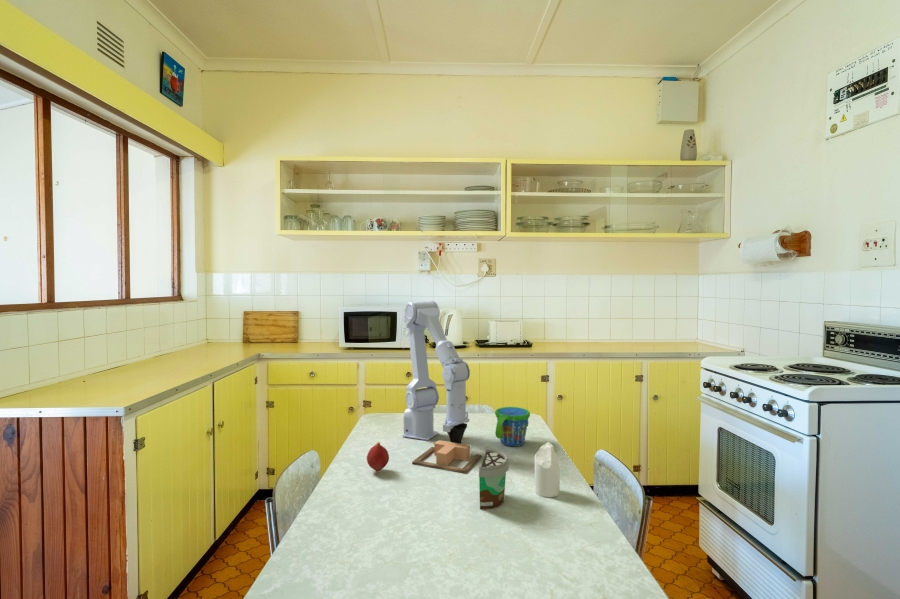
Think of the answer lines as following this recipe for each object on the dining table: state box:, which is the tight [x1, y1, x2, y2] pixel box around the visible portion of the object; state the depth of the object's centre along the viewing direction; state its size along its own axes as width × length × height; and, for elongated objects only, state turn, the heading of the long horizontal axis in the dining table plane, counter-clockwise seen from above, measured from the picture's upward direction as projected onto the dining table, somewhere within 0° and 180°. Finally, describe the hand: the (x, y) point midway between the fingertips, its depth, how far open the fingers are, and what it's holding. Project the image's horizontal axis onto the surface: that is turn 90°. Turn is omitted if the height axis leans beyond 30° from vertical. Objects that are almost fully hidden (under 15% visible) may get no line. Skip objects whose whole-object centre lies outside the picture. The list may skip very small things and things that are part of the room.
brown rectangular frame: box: [411, 446, 483, 475], centre depth 132 cm, size 16×12×1 cm
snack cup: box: [494, 406, 531, 447], centre depth 145 cm, size 16×10×10 cm
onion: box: [366, 441, 390, 473], centre depth 124 cm, size 6×6×8 cm
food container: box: [478, 448, 510, 510], centre depth 108 cm, size 12×6×10 cm, turn 168°
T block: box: [433, 439, 471, 466], centre depth 132 cm, size 9×10×4 cm
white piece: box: [534, 441, 561, 498], centre depth 112 cm, size 6×12×6 cm
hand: (456, 448), depth 138 cm, fingers closed
